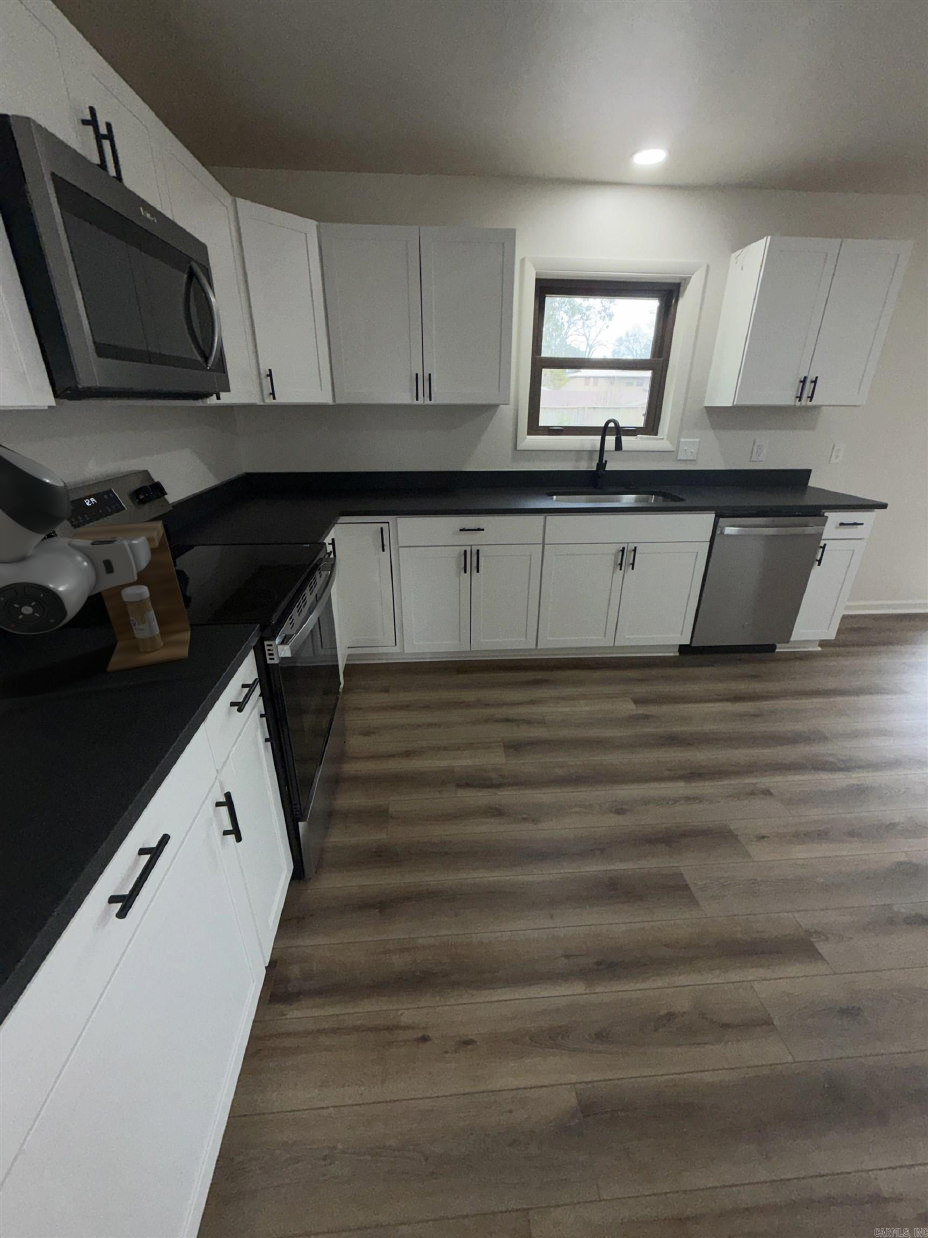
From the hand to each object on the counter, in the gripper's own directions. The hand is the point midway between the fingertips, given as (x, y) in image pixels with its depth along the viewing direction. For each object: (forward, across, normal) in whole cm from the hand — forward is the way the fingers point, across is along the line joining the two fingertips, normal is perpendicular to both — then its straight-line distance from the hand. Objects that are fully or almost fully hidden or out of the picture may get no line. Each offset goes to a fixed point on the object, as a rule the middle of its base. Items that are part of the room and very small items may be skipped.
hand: (84, 544), depth 83 cm
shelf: (+12, +2, -28) cm, 30 cm away
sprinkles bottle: (+12, +3, -26) cm, 29 cm away
